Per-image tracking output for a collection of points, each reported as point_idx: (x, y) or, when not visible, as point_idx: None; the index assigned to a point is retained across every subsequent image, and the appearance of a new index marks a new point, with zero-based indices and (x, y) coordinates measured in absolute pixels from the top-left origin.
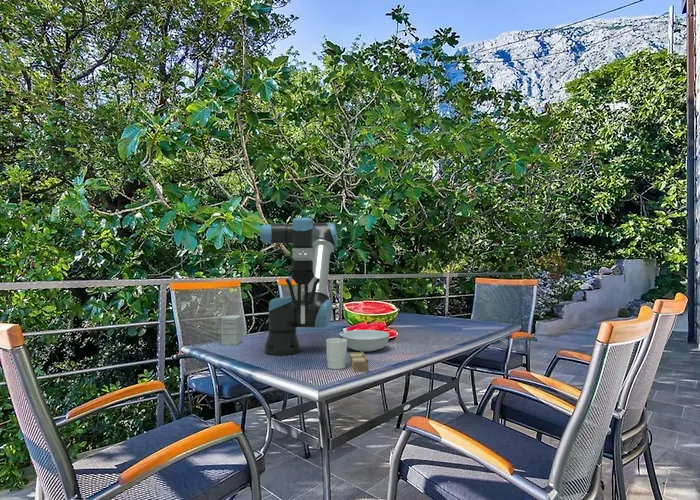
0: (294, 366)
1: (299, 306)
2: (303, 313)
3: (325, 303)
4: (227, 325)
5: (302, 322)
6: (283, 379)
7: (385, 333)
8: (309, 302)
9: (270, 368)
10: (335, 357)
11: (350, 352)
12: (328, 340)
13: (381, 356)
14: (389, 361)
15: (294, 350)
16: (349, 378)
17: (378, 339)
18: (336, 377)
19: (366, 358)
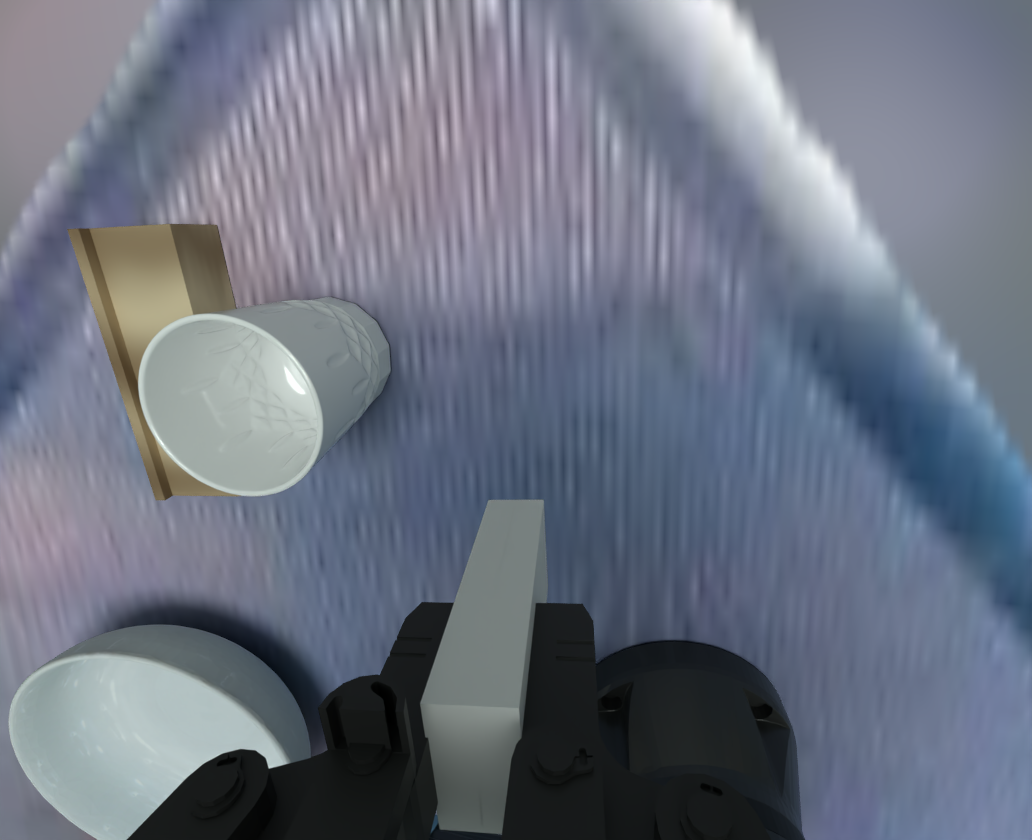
0: (601, 395)
1: (554, 729)
2: (484, 591)
3: None
4: None
5: (519, 509)
6: (683, 58)
7: (50, 785)
8: (276, 811)
9: (765, 361)
10: (297, 302)
11: (233, 495)
12: (311, 456)
13: (113, 552)
14: (54, 448)
15: (602, 676)
16: (228, 68)
17: (58, 658)
18: (315, 99)
19: (88, 282)
